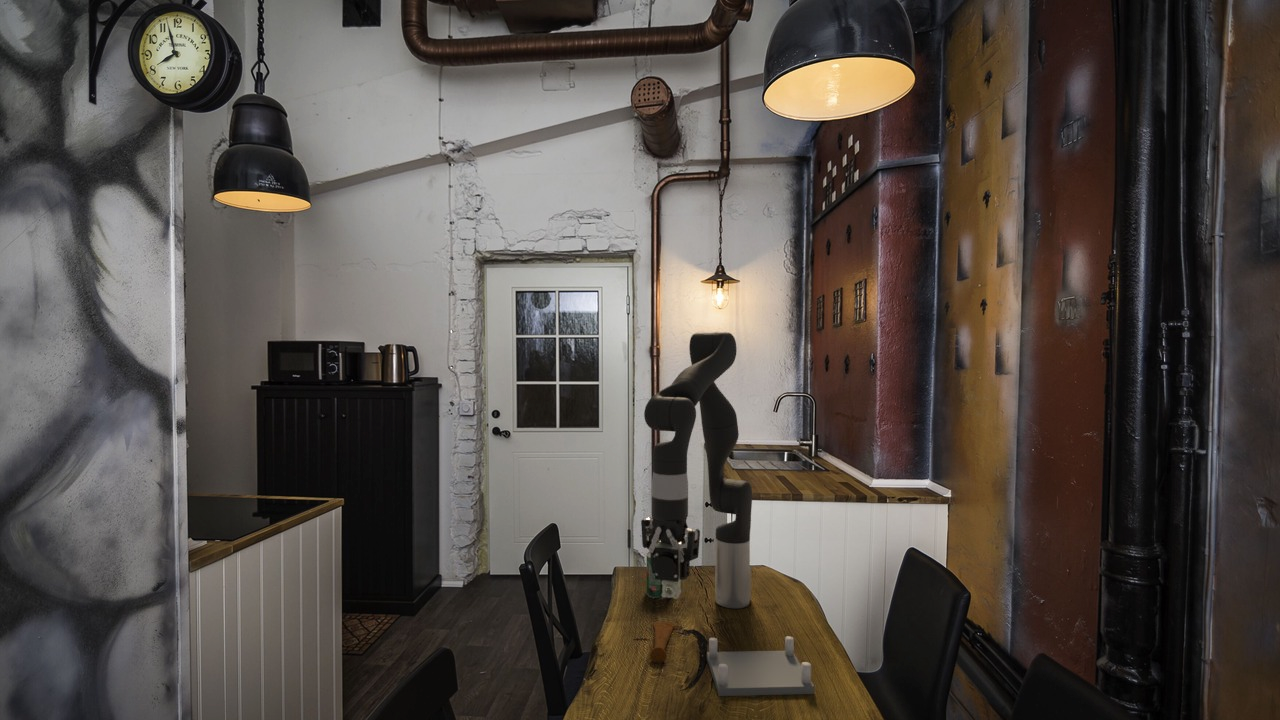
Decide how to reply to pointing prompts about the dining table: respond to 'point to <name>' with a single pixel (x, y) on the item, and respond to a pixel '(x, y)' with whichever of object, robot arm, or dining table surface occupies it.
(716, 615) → the dining table surface
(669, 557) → the pneumatic valve
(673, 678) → the dining table surface
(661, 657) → the primitive tool
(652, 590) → the canned tomato
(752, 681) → the peg board
